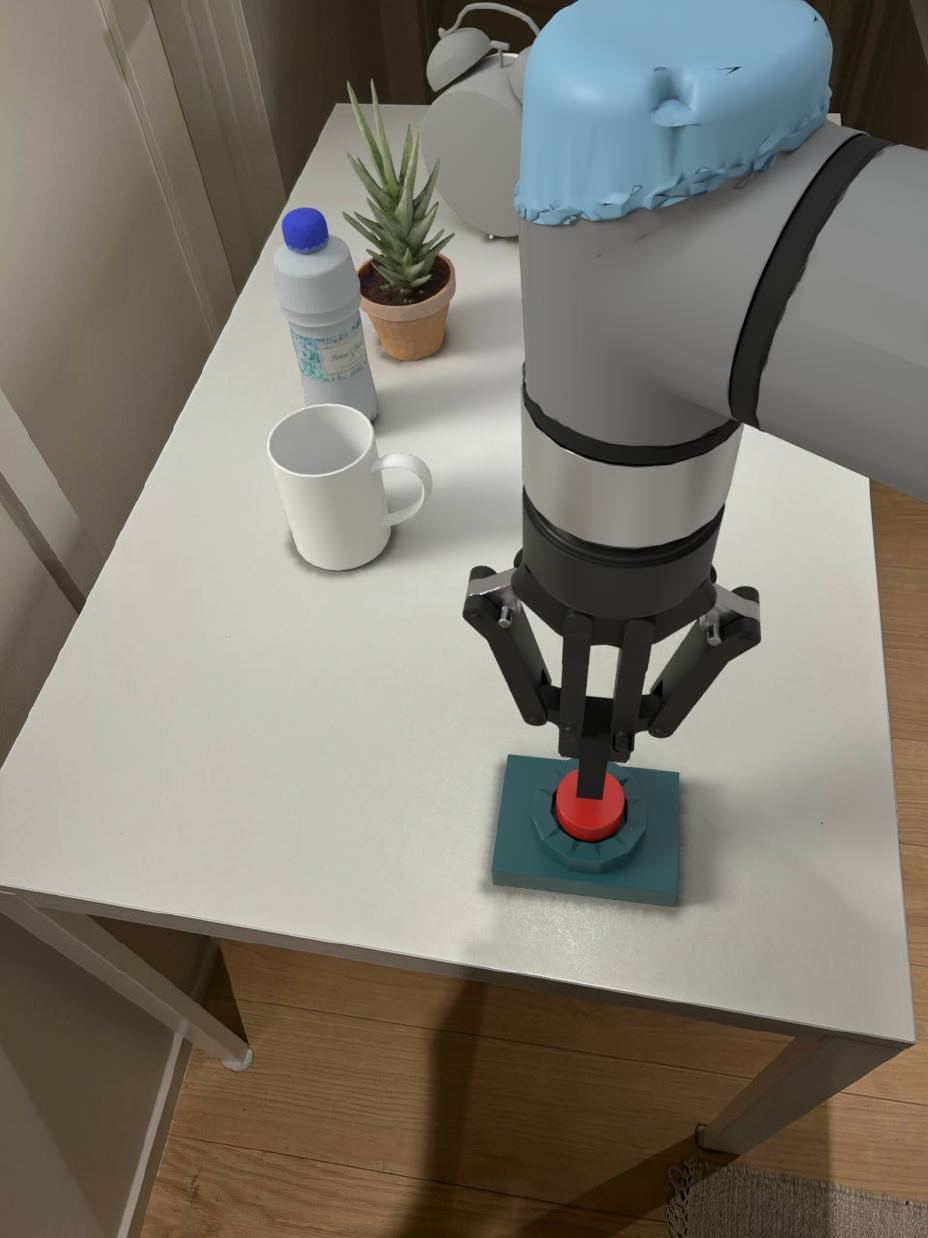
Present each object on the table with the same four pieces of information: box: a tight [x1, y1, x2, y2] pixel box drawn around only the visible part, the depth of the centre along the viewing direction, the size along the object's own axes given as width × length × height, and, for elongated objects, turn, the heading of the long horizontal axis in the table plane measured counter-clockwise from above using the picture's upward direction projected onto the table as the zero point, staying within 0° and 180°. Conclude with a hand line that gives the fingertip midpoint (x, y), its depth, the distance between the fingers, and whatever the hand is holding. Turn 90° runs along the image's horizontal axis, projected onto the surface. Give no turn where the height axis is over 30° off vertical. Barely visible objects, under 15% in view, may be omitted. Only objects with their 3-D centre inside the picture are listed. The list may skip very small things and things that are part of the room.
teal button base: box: [491, 753, 680, 908], centre depth 58 cm, size 11×8×4 cm
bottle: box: [272, 207, 378, 422], centre depth 77 cm, size 7×7×20 cm
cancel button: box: [556, 769, 625, 841], centre depth 56 cm, size 4×4×2 cm
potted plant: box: [341, 78, 457, 362], centre depth 81 cm, size 10×10×25 cm
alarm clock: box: [420, 2, 541, 240], centre depth 94 cm, size 16×9×22 cm, turn 56°
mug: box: [266, 404, 433, 571], centre depth 71 cm, size 12×8×10 cm, turn 74°
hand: (590, 777), depth 53 cm, fingers closed
